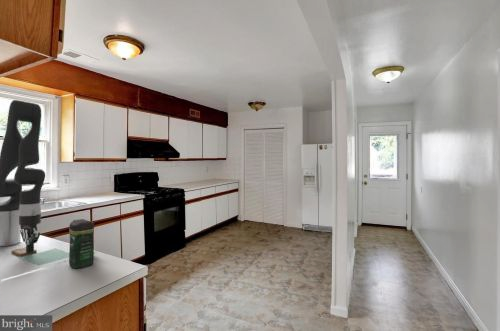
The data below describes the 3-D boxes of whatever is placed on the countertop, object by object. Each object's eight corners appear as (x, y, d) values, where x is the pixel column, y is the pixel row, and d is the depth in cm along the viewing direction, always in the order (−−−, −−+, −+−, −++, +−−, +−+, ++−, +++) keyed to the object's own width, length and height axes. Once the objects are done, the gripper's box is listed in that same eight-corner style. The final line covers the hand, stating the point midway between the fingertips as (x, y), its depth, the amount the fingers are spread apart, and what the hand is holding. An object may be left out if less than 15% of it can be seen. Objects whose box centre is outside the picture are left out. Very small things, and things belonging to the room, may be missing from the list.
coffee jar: (96, 264, 109) (97, 220, 109) (74, 270, 103) (75, 223, 103) (87, 259, 115) (87, 216, 115) (66, 264, 109) (66, 219, 109)
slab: (20, 259, 115) (11, 255, 119) (36, 255, 120) (27, 251, 125) (20, 254, 115) (11, 250, 119) (36, 250, 120) (27, 246, 124)
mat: (18, 259, 114) (18, 257, 114) (55, 249, 126) (55, 248, 126) (38, 267, 106) (38, 265, 106) (75, 256, 118) (75, 254, 118)
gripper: (12, 213, 117) (12, 252, 117) (27, 216, 111) (27, 257, 111) (32, 210, 124) (32, 247, 124) (47, 213, 117) (47, 252, 117)
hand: (30, 252), depth 117 cm, fingers closed
